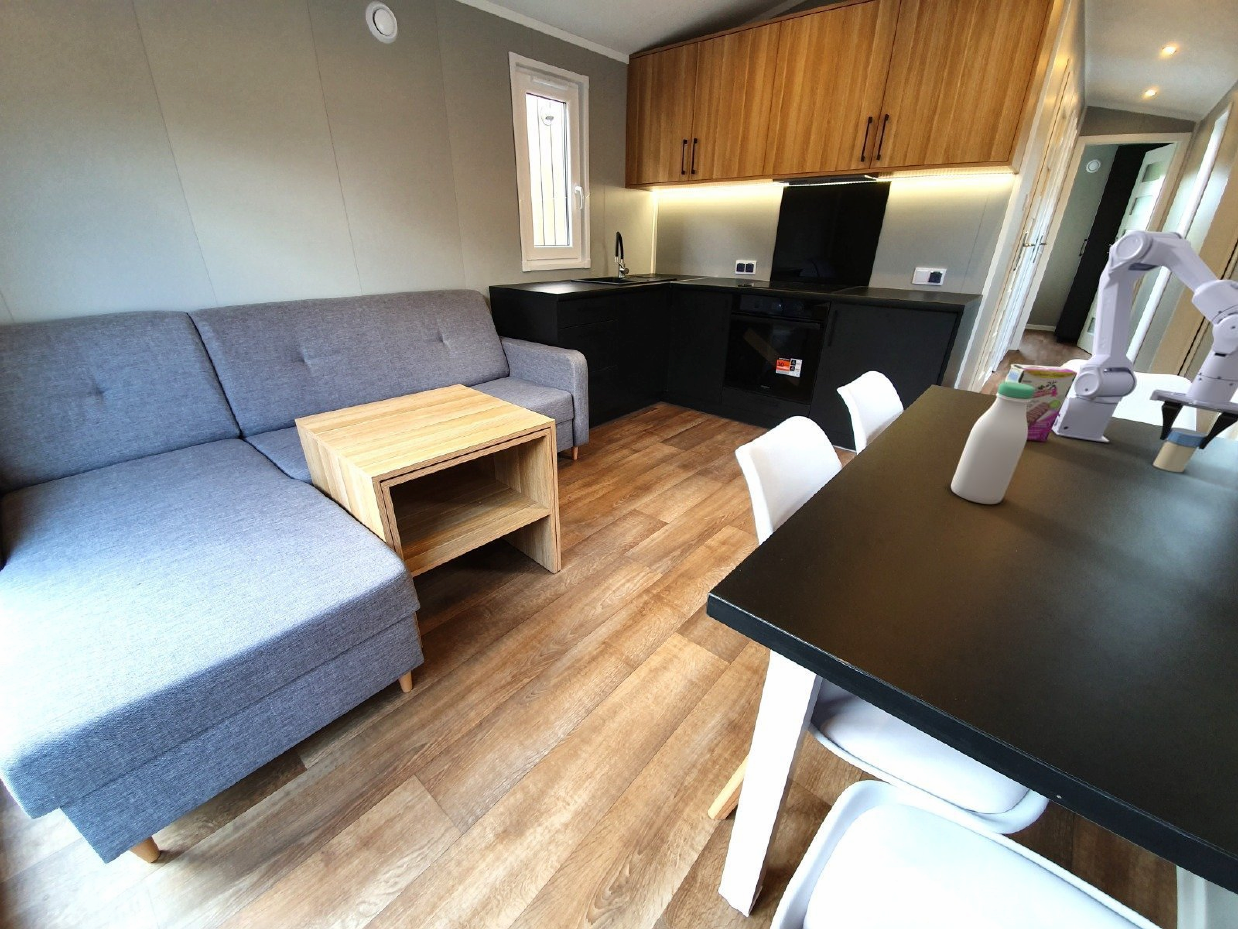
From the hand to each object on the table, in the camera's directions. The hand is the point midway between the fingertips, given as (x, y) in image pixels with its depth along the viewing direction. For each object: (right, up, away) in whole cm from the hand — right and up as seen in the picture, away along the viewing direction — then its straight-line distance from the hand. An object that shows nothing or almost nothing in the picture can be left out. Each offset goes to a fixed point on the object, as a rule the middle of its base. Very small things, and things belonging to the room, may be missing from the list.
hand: (1181, 443), depth 98 cm
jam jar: (0, -5, +2) cm, 5 cm away
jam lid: (0, +2, -1) cm, 2 cm away
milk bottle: (-50, -10, -11) cm, 52 cm away
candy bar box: (-21, +2, +16) cm, 26 cm away
